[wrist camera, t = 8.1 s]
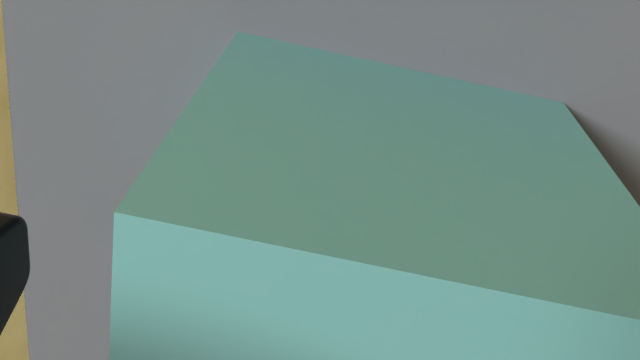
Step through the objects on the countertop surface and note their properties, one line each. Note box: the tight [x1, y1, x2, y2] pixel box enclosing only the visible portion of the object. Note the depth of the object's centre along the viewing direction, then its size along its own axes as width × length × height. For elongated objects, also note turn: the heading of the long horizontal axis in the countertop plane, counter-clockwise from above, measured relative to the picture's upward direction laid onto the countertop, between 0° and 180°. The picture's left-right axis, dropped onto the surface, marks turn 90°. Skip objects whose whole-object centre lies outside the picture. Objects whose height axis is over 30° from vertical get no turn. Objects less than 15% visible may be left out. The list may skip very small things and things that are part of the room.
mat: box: [2, 0, 640, 360], centre depth 10 cm, size 12×12×1 cm
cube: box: [109, 32, 640, 360], centre depth 8 cm, size 5×5×5 cm
